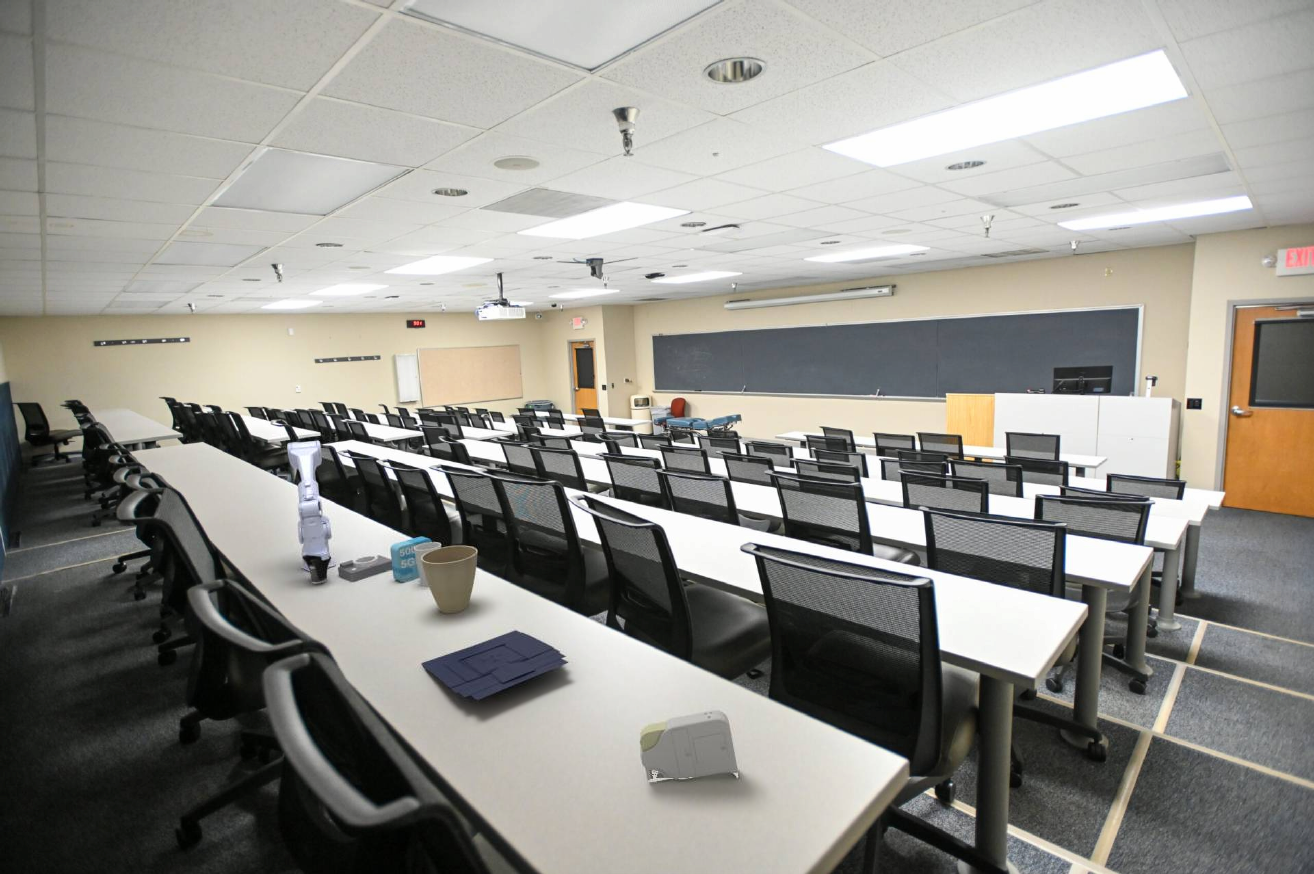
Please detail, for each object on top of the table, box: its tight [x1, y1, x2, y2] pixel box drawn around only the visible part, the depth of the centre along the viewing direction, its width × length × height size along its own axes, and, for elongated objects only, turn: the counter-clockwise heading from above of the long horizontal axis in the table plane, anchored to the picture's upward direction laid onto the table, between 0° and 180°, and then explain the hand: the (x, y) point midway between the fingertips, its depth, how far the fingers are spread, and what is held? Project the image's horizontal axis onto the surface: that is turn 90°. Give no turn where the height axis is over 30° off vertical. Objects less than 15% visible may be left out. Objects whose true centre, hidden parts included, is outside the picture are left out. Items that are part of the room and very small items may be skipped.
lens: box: [309, 564, 328, 585], centre depth 194 cm, size 4×4×6 cm
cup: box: [414, 541, 442, 588], centre depth 189 cm, size 8×8×12 cm
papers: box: [421, 629, 570, 701], centre depth 134 cm, size 24×30×4 cm
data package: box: [389, 536, 433, 583], centre depth 195 cm, size 12×4×12 cm, turn 140°
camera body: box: [337, 555, 393, 583], centre depth 201 cm, size 10×14×4 cm
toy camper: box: [639, 709, 739, 781], centre depth 97 cm, size 11×3×15 cm
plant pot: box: [421, 545, 478, 614], centre depth 168 cm, size 15×15×16 cm
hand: (319, 577), depth 194 cm, fingers closed on lens, 4 cm apart
